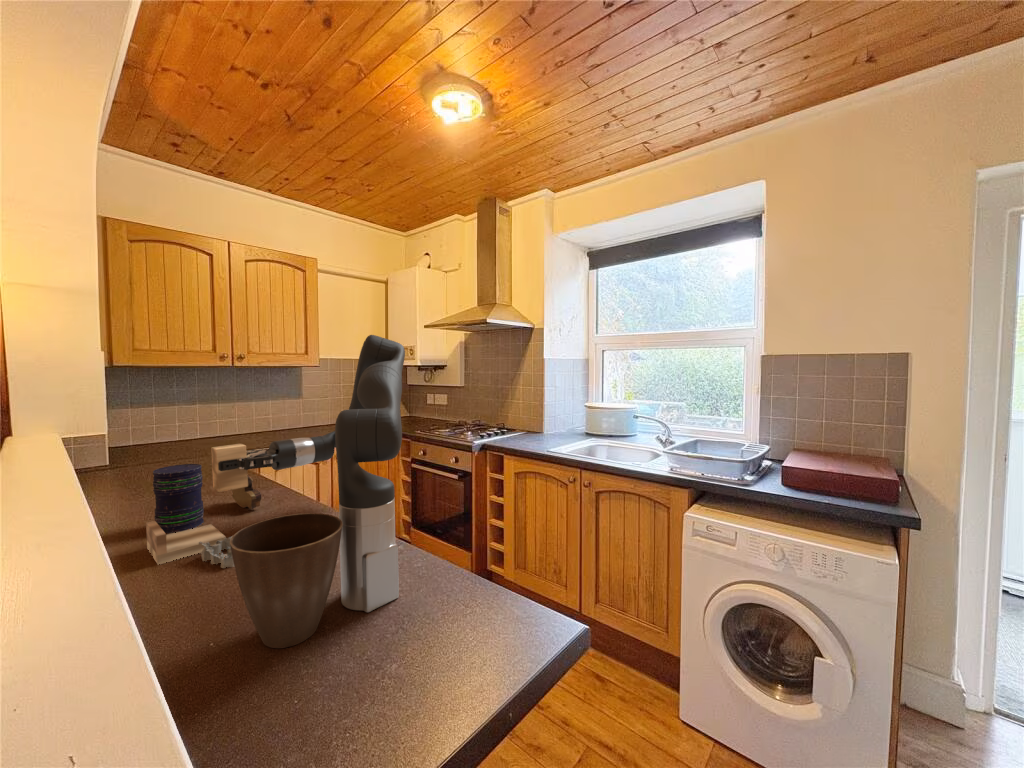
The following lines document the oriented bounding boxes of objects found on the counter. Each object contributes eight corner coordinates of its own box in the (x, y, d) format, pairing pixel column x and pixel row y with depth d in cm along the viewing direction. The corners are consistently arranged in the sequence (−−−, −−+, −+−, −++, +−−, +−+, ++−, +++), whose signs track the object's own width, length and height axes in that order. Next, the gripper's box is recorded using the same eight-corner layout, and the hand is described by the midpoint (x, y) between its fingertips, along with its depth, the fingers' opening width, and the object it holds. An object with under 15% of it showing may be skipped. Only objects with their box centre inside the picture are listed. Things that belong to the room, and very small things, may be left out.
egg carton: (196, 560, 88) (195, 541, 88) (234, 547, 94) (234, 529, 94) (223, 572, 83) (222, 552, 82) (261, 557, 89) (261, 538, 89)
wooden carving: (269, 509, 119) (267, 474, 118) (252, 514, 115) (250, 478, 114) (240, 499, 127) (239, 467, 127) (223, 503, 124) (222, 470, 123)
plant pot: (317, 594, 74) (315, 506, 73) (363, 627, 65) (360, 526, 64) (218, 637, 62) (215, 532, 62) (256, 684, 53) (252, 562, 52)
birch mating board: (226, 545, 94) (225, 519, 94) (157, 565, 85) (156, 536, 85) (211, 532, 102) (210, 508, 102) (147, 548, 93) (145, 522, 93)
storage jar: (183, 533, 101) (180, 473, 101) (143, 533, 101) (141, 473, 101) (213, 518, 111) (211, 463, 111) (177, 518, 111) (175, 463, 111)
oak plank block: (247, 486, 101) (246, 445, 100) (218, 492, 96) (216, 449, 96) (241, 483, 104) (240, 443, 103) (213, 488, 99) (211, 447, 99)
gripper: (281, 436, 115) (206, 445, 102) (303, 442, 106) (224, 453, 93) (282, 463, 115) (208, 475, 102) (304, 471, 106) (225, 486, 93)
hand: (216, 464), depth 98 cm, fingers closed on oak plank block, 4 cm apart
